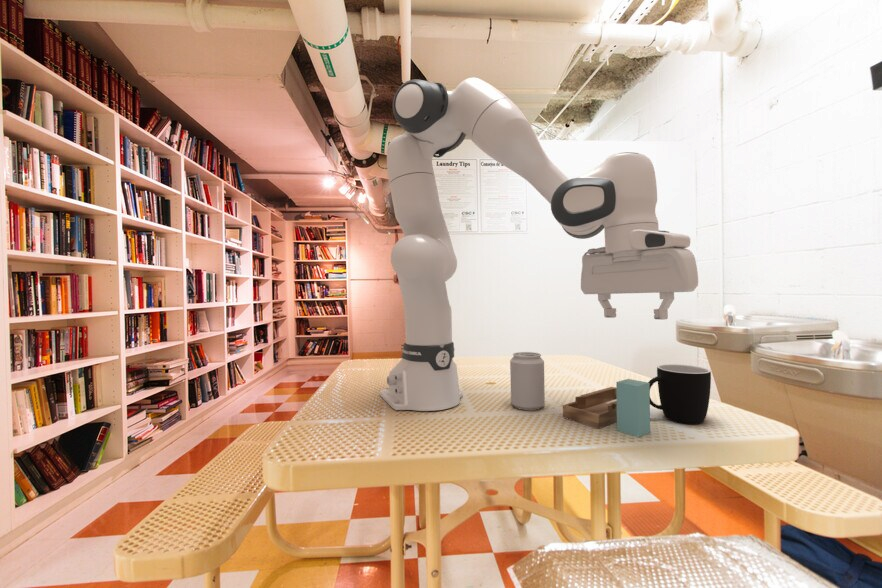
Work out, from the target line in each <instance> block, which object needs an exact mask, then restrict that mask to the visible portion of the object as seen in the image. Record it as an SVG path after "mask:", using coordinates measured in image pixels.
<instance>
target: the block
mask: <svg viewBox="0 0 882 588" xmlns="http://www.w3.org/2000/svg"><path fill="white" fill-rule="evenodd" d="M648 382H649V381H648ZM648 382H647V381H642V380H636V379H632V378H631V379H630V378H626V379H622V380H619V381H616V383H615V385H616V388H617V422H616V432H620V433H623V434H627V435H630V436H634V437H637V438H641V437H643V436H645V435H647V434H650V433H651V405H650V398H651V395H650V394H651V393H650V392H651V388H650V383H648Z"/></svg>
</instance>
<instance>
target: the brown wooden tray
mask: <svg viewBox="0 0 882 588" xmlns="http://www.w3.org/2000/svg"><path fill="white" fill-rule="evenodd" d="M574 400H575V401H572V402H569V403H565V404H563V405H562V418H563V417H566V418H568V419H567V420H569V419H571V420H570V421H572V420H574V421H573V422H575V423H576V422H577V423H579V424H582V425H585V426H588V427H591V428H595V429H597V430H600V429H602V428H605V427H607V426H610V425H613V424H615V423H617V388H616V387H615V386H609V387H606V388H602V389H599V390H594V391H591V392H588V393H584V394H580V396H575V399H574ZM566 418H565V419H566Z"/></svg>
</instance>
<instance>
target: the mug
mask: <svg viewBox="0 0 882 588" xmlns="http://www.w3.org/2000/svg"><path fill="white" fill-rule="evenodd" d="M656 375H657V376H655V377H652V379H650V380H649V381H648V383H650V389H651V388H652V387H653V385H654V384H656V383H657V388H658V389H657V390H658V397H659V400H660V401H659V402H660V404H656V403H655V402H653V399H652V398H651V397H650V406H652V407H653V408H655V409H657V410H661V411H662V413H663V415H664V417H665V419H667V420H670V421H672V422H675V423H679V424H685V425H699V424H702V423H704V421H705V420H706V417H707V415H708V410H709V407H710V406H709V404H710V397H711V387H712V386H711V385H712V383H711V382H712V373H711V370H710V369H709V368H706V367H702V366H698V365H692V364H679V363H678V364H677V363H665V364H664V363H663V364H659V365H657V367H656Z"/></svg>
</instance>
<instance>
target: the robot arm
mask: <svg viewBox="0 0 882 588" xmlns="http://www.w3.org/2000/svg"><path fill="white" fill-rule="evenodd" d="M392 112H393V117H394V118H395V120H396V122H397V123H398V124H399V126H400V127H401V128H402V130H404V132H403V134H400V135H397V136H395V137H394V138H393V139H391V140H390V141H389V144H388V146H387V147H386V148H387V149H386V165H387V166H386V168H387V169H386V170H387V177H388V178H387V179H388V185H389V190H390V194H391V195H390V196H391V200H392V206H393V213H394V216H395V220H396V222H397V223H398V225H399V227H400V228H401V231H402V233H403V237H401V238H399V239H398V240H397V241H396V242H395V244H394V246H393V247H392V249H391V254H390V263H391V266H392V269H393V270H394V272H395V273H396V278H397V279H398V284H399V288H400V289H399V290H400V294H401V299H402V303H403V309H404V310H403V311H404V332H405V334H404V335H405V341H404V343H403V344H401V347H402V348H401V350H402V351H401V355H400V356H401V359H400V360H399V361H398V362H397V364H396V365H395V366H394V367H393V368H392V369H391V370H390V371H389V374H388V376H387V377H386V383H387V386H388V387H386V388H383V389H381V390H380V391H379V396H380V397H381V398H382V399H383V400H384V401H385V402H386V403H387V404H388V405H389V406H390V407H391V408H392V409H393V410H396V411H406V410H407V411H418V412H430V411H431V412H432V411H433V412H434V411H442V410H449V409H451V408H453V407H454V408H455V407H457V406H458V405H459V404H460V403H461V398H462V397H463V391H461V390H460V383H459V374H458V367H457V364H456V362H455V361H454V359H453V358H455V344H454V341H453V326H452V325H453V323H452V322H453V321H452V319H453V318H452V306H451V305H450V302H449V301H450V300H449V296H448V292H447V284H446V282H447V281H449V280H450V279H451V278H452V277H453V276H454V274H455V273H456V271H457V267H458V259H457V256H456V253H455V251H454V247H453V243H452V240H451V236H450V234H449V229H448V226H447V224H446V221H445V217H444V215H443V212H442V211H443V210H442V207H441V201H440V197H439V192H438V187H437V182H436V177H435V172H434V167H433V158H438V159H439V158H441V157H443V156H444V155H446V154H447V153H448V152H452V151H454V150H455V149H456V148H458V147H459V146H460V145H461V144H462V143H463V142H464V140H465V139H466V136H467V138H468V139H470V140H471V141H472V142H473V144H474V145H475V146H476V147H478V149H480V150H481V151H482V152H483V153H484V154H486V155H487V156H489V157H490V159H493V160H494V161H496V162H498V163H499V164H501V165H502V166H504V167H506V168H507V169H508V170H510V171H513V172H514V173H515V174H517V175H518V176H520V177H521V178H523V179H524V180H525V181H526V182H528V184H530V185H532V187H534V189H535V190H536V191H537V192H538V193H539V194H540V195H541V196H542V197H543V198H544V199H545V200H546V201H547V202H548V203H549V204H550V210H551V214H552V216H553V218H554V219H555V220H556V222H558V223H559V225H560V226H561V227H562V230H564V232H565V233H566V234H567V235H569V236H570V237H573V238H575V239H578V240H581V239H582V240H583V239H589V238H590V239H591V238H592V237H595V236H597V235H598V234H600V233H601V232H602V231H604V242H605V243H604V246H601V247H598V248H589V249H588V250H587V251H586V252H585V253H584V254H583V255H582V257H581V263H582V267H581V275H580V290H581V291H582V293H583V294H584V295H597V300H598V302H599V304H600V306H601V307H602V309H603V315H604V318H608V319H614V318H617V308H615V307H613V306H612V305H611V303H610V301H609V300H611V299H612V298H611V297H612V296H611V295H615V294H617V295H618V294H654V293H655V294H656V293H658V294H659V300H661V303H660V305H659V308H653V314H654V315H653V318H654V320H668V317H669V315H668V313H669V312H668V311H669V310H668V309H669V308H670V306H671V305H672V303H673V302H674V300H675V293H691V292H694V291H695V290H696V288H697V287H698V286H699V274H698V273H699V272H698V266H697V261H696V257H695V255H694V253H693V252H692V250H690V249H688V248H689V247H690V246H691V237H690V236H689V235H687V234H683V233H682V234H681V233H674V232H670V231H667V230H659V220H658V217H657V215H656V206H657V204H658V203H657V202H658V188H657V187H658V186H657V177H656V172H655V168H654V165H653V162H652V160H651V159H650V158H649V157H648V156H646V155H645V154H642V153H638V152H628V151H626V152H618V153H615V154H612V155H609V156H607V158H606V159H605V160H603V161H602V163H600V164H599V165H597V166H596V167H594V169H592V170H590V171H588V172H585V173H584V174H582V175H579V176H577V177H574V178H571V179H569V177H568V176H567V175H566V174H565V173H563V172H562V171H561V170H560V169H559V168H558V167H557V166H556V164H554V162H553V161H552V160H551V159H550V158H549V156H548V155H547V154H546V152H545V151H544V149H543V147H542V145H541V143H540V141H539V139H538V137H537V135H536V132H535V131H534V128H533V127H532V125H531V123H530V122H529V120H528V119H527V118H526V116H525V114H524V113H523V112H522V111H521V109H520V108H519V107H518V106H517V104H516V103H514V101H512V99H510V98H509V97H508V96H507V95H506V94H504V92H502V91H500V89H498V88H496V87H495V86H493V85H491V84H490V83H488V82H487V81H485V80H483V79H481V78H478V77H467V78H465V79H464V80H462V81H460V82H459V84H458V85H457V86H456V87H455V88H454V89H452V90H447V88H446V86H445V84H444V83H442V82H432V81H427V80H424V79H423V80H422V79H415V78H414V79H409V80H407V81H405V82H404V83H402V84H401V85H400V86H399V88H398V89H397V90H396V92H395V94H394V97H393V99H392Z"/></svg>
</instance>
